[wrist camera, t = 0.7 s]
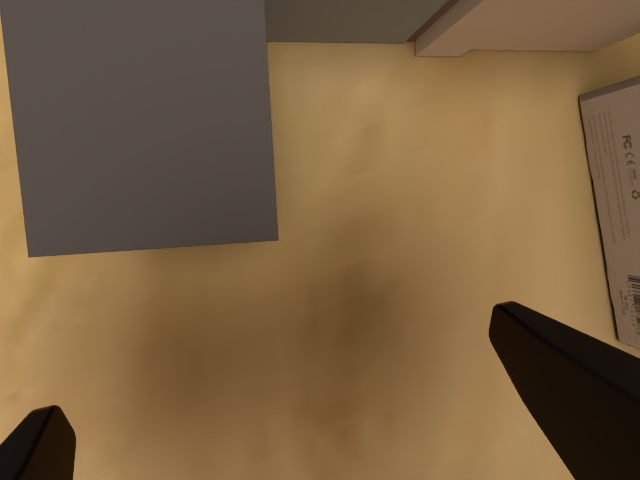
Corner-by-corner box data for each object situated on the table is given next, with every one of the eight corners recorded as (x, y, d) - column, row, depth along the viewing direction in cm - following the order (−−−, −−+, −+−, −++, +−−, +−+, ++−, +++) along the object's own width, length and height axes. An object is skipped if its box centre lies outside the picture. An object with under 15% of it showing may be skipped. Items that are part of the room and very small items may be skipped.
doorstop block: (258, 222, 22) (278, 240, 12) (134, 229, 21) (28, 257, 10) (249, 81, 22) (261, -39, 11) (120, 81, 21) (-8, -52, 10)
